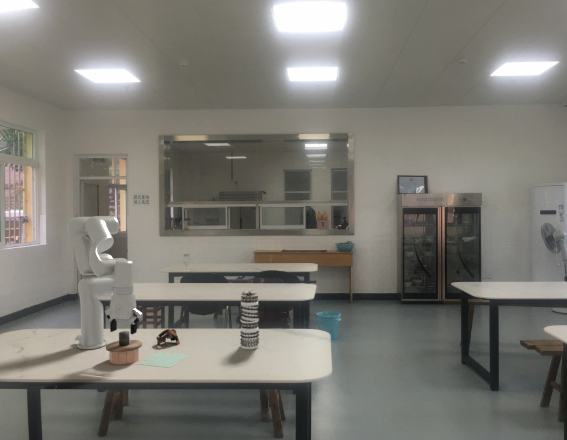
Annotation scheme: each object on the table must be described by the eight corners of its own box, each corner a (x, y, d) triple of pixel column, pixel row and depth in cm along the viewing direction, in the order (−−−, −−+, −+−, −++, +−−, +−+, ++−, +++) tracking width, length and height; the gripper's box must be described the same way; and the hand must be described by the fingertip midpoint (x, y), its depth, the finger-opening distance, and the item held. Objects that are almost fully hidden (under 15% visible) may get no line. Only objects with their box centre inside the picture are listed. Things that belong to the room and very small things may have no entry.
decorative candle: (247, 350, 189) (247, 294, 189) (235, 346, 196) (235, 291, 196) (264, 346, 195) (263, 291, 195) (251, 342, 202) (251, 288, 202)
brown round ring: (178, 349, 194) (168, 334, 192) (160, 357, 195) (151, 342, 194) (185, 335, 205) (176, 321, 204) (168, 343, 207) (159, 329, 205)
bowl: (104, 364, 173) (103, 349, 173) (121, 355, 183) (121, 341, 183) (127, 367, 169) (127, 351, 169) (144, 358, 180) (144, 343, 180)
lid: (98, 350, 172) (97, 335, 171) (120, 340, 185) (120, 327, 185) (128, 353, 168) (127, 338, 167) (149, 343, 181) (149, 329, 181)
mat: (136, 365, 172) (136, 363, 172) (157, 353, 186) (157, 352, 186) (169, 368, 167) (169, 367, 167) (188, 356, 182) (188, 355, 182)
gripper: (99, 290, 175) (99, 332, 176) (136, 294, 170) (135, 337, 170) (112, 287, 182) (111, 327, 183) (147, 290, 177) (147, 331, 178)
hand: (123, 332), depth 177 cm, fingers open, 9 cm apart
